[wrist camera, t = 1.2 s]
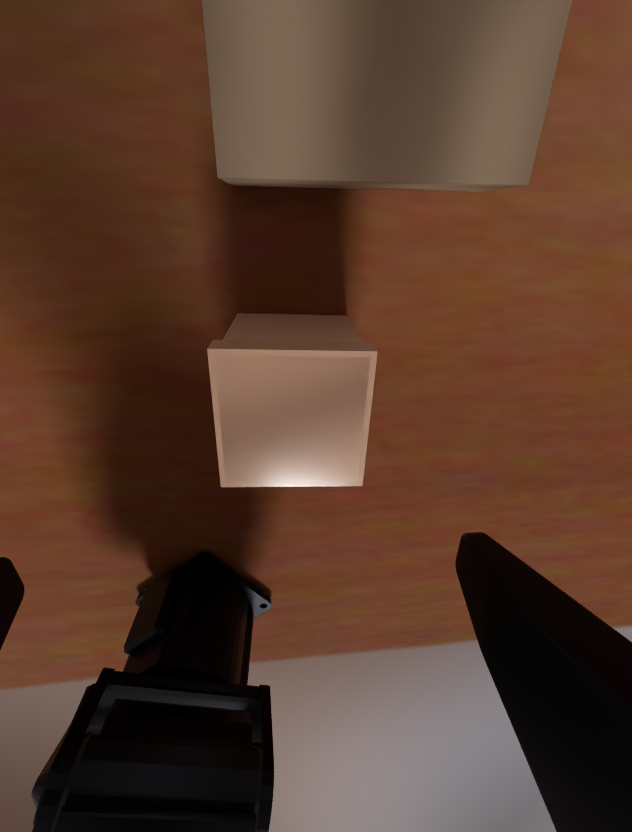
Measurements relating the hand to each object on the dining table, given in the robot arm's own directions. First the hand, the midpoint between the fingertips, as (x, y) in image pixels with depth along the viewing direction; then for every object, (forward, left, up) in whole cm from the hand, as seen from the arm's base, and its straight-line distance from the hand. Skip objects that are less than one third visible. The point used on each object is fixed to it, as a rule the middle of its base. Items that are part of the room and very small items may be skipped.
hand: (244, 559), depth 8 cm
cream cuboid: (-1, -1, -12) cm, 12 cm away
